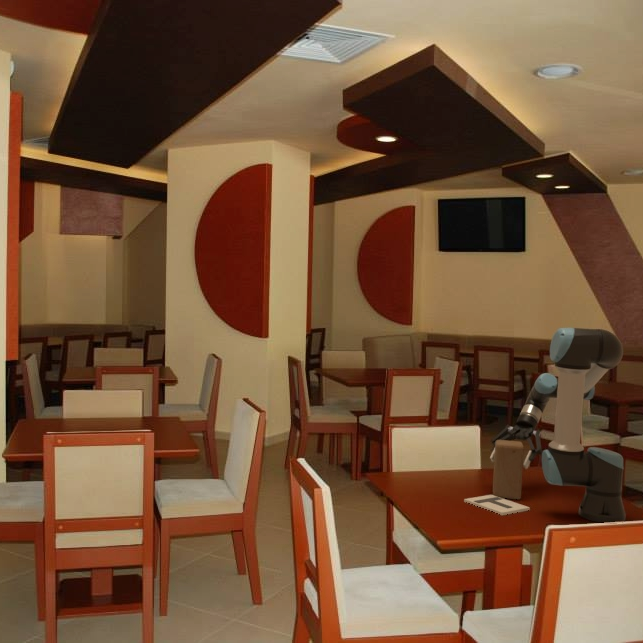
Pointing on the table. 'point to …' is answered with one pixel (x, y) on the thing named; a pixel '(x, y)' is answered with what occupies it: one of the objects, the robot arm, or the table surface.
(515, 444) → the wooden block
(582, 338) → the robot arm
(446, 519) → the table surface
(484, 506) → the letter board
